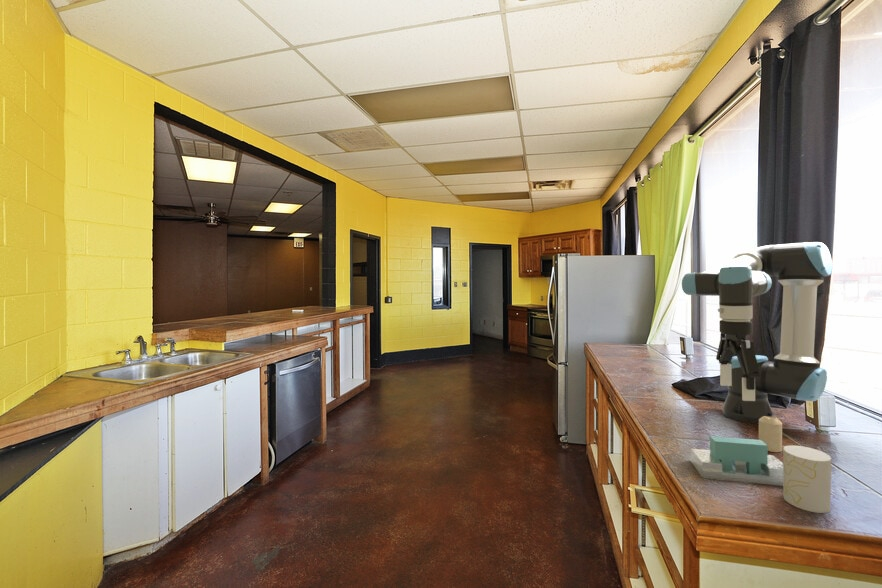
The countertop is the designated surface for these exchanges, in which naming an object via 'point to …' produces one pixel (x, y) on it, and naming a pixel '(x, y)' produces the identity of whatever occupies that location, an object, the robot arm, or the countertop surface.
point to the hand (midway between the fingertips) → (736, 392)
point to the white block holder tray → (737, 469)
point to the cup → (807, 478)
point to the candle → (771, 433)
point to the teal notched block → (739, 452)
